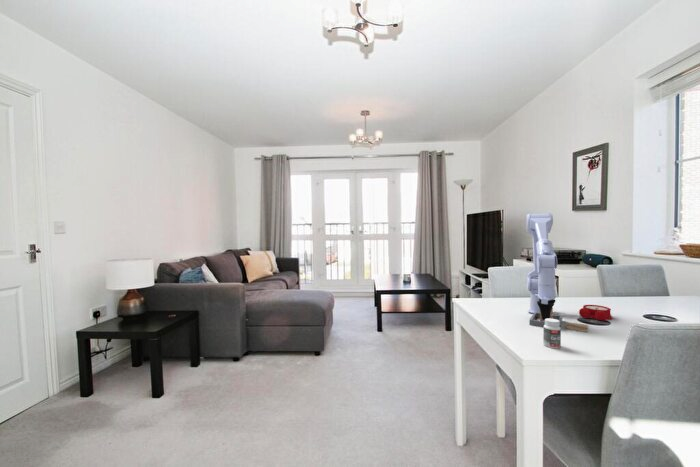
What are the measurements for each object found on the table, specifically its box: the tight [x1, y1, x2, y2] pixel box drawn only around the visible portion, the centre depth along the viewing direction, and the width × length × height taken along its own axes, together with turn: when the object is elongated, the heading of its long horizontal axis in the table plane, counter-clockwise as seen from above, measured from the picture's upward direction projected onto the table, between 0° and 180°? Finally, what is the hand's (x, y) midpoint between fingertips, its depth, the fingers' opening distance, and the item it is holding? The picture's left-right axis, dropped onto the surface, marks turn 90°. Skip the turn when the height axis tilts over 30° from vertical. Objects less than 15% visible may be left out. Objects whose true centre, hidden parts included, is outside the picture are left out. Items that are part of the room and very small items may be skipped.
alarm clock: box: [578, 304, 613, 322], centre depth 135 cm, size 10×6×15 cm
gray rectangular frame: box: [529, 312, 563, 329], centre depth 128 cm, size 14×10×2 cm
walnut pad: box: [565, 321, 589, 333], centre depth 122 cm, size 9×6×1 cm
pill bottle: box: [542, 318, 562, 349], centre depth 104 cm, size 5×5×8 cm
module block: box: [539, 307, 554, 322], centre depth 128 cm, size 4×4×6 cm
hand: (546, 318), depth 128 cm, fingers closed on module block, 4 cm apart
